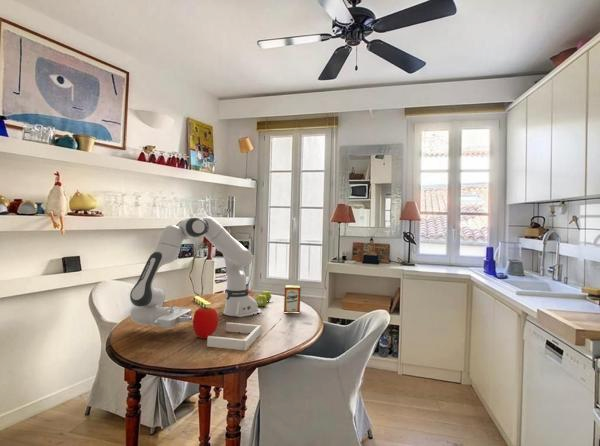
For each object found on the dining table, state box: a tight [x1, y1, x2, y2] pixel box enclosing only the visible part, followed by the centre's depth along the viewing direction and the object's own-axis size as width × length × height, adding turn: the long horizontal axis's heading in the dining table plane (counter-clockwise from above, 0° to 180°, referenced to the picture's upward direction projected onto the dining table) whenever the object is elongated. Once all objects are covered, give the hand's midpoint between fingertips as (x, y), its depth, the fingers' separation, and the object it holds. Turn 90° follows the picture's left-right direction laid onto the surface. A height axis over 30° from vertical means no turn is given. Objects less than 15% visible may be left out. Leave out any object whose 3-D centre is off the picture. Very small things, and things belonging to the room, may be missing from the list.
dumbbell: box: [254, 290, 272, 307], centre depth 220 cm, size 16×8×7 cm, turn 172°
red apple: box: [192, 306, 219, 340], centre depth 154 cm, size 13×11×14 cm
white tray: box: [206, 322, 262, 351], centre depth 152 cm, size 18×22×4 cm
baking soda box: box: [283, 284, 301, 313], centre depth 202 cm, size 10×6×16 cm
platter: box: [193, 295, 212, 308], centre depth 211 cm, size 32×32×3 cm
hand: (190, 319), depth 156 cm, fingers closed
